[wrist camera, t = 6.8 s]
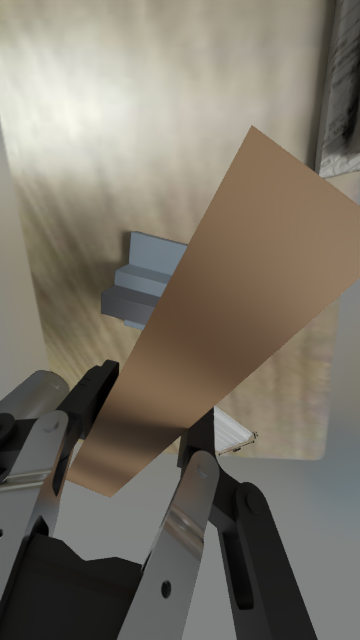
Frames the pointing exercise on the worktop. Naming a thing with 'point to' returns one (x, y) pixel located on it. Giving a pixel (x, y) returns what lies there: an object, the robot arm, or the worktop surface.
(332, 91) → the packaged product
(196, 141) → the worktop surface
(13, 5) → the worktop surface
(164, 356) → the walnut batten
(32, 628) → the robot arm
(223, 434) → the baseboard molding
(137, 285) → the ridge stand
